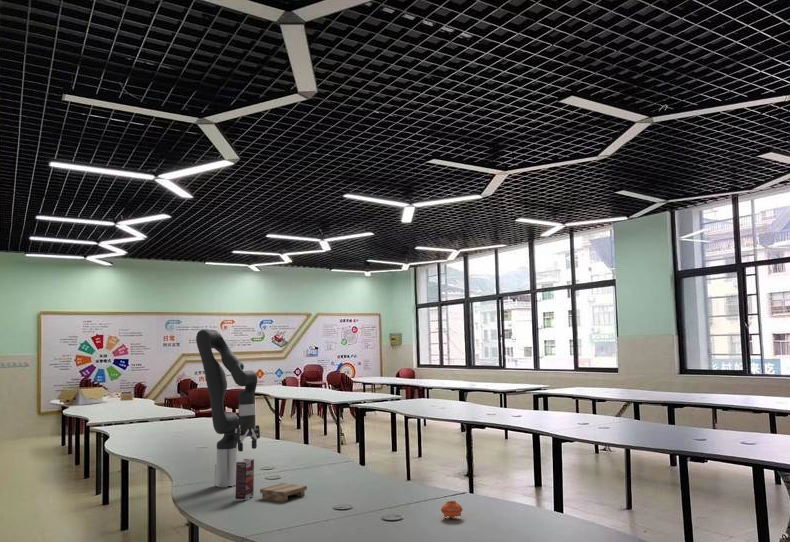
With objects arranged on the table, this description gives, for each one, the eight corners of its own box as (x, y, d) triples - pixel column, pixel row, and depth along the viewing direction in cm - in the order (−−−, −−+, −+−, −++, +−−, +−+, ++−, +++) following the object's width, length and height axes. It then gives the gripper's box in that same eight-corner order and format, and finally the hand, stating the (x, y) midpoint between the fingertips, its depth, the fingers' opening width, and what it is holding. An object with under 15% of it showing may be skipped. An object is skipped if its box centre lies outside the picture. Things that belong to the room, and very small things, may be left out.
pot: (452, 522, 223) (448, 502, 225) (439, 523, 229) (435, 504, 231) (469, 517, 228) (465, 498, 230) (455, 518, 234) (451, 499, 236)
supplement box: (245, 501, 261) (246, 462, 263) (234, 501, 262) (235, 462, 264) (254, 496, 270) (254, 458, 272) (243, 496, 271) (244, 458, 273)
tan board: (260, 498, 265) (260, 489, 266) (282, 492, 277) (282, 482, 278) (285, 502, 258) (285, 492, 259) (306, 495, 270) (306, 485, 270)
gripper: (251, 412, 298) (252, 447, 296) (229, 415, 286) (230, 452, 284) (263, 412, 294) (264, 448, 292) (241, 415, 282) (241, 452, 280)
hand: (247, 449), depth 288 cm, fingers open, 8 cm apart
